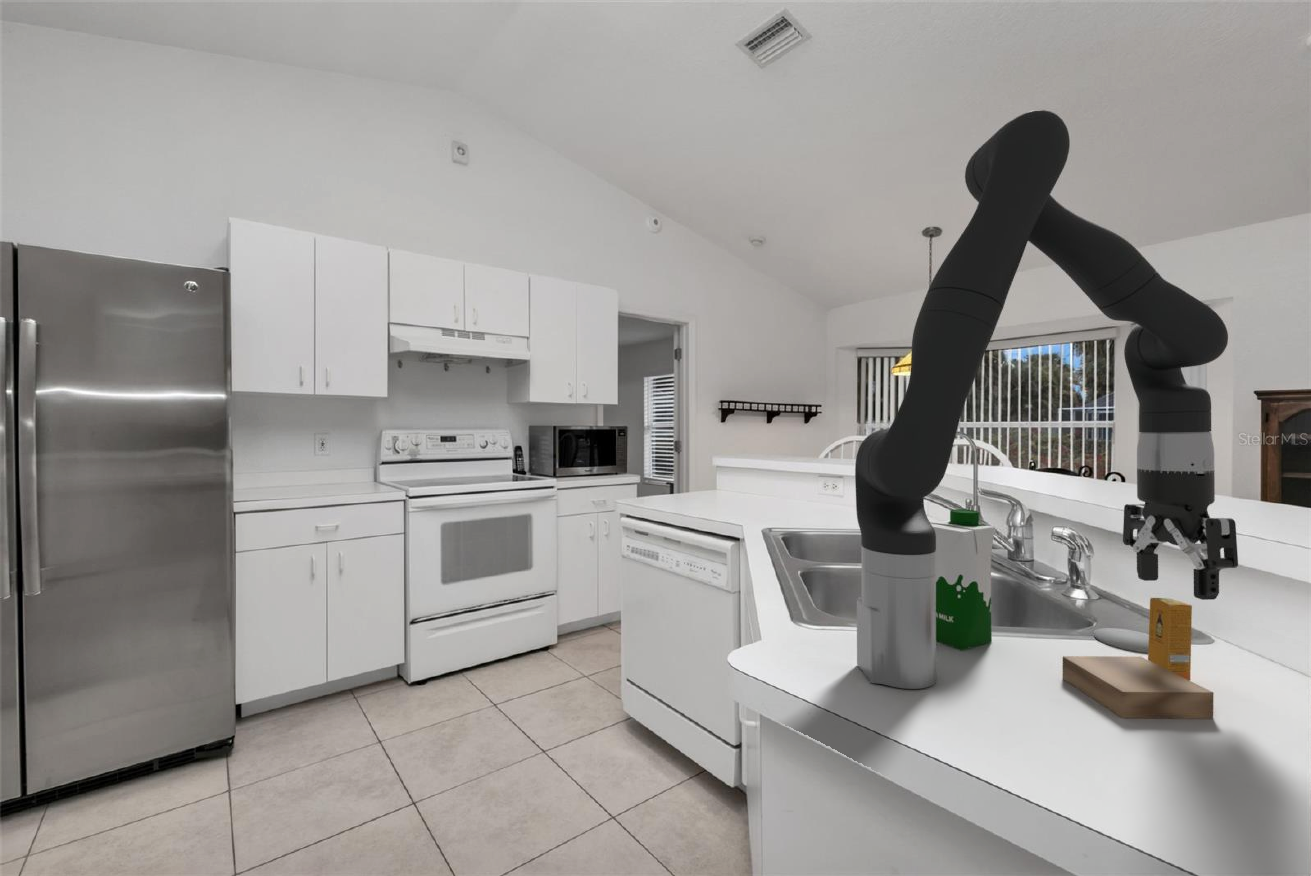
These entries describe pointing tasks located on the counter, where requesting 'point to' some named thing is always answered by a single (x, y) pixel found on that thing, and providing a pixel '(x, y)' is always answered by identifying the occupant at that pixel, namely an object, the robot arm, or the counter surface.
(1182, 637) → the supplement box
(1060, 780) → the counter surface
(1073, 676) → the walnut plinth
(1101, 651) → the counter surface
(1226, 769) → the counter surface
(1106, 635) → the grey coaster
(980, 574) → the milk carton
